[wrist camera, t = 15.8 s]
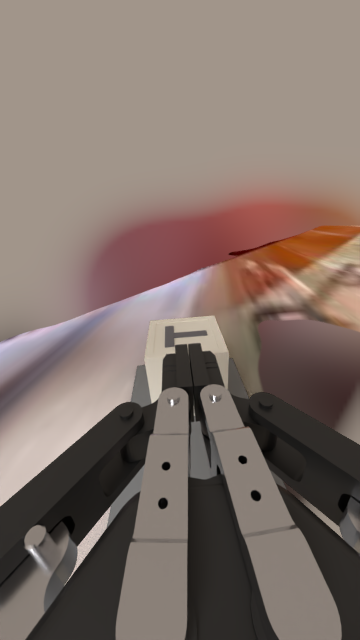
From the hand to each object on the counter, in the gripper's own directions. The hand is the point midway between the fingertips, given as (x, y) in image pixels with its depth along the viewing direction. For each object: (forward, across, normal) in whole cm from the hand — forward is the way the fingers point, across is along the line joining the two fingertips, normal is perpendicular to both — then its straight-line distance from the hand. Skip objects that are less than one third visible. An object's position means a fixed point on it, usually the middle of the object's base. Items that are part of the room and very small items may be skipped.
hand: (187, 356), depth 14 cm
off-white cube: (+11, 0, +5) cm, 12 cm away
